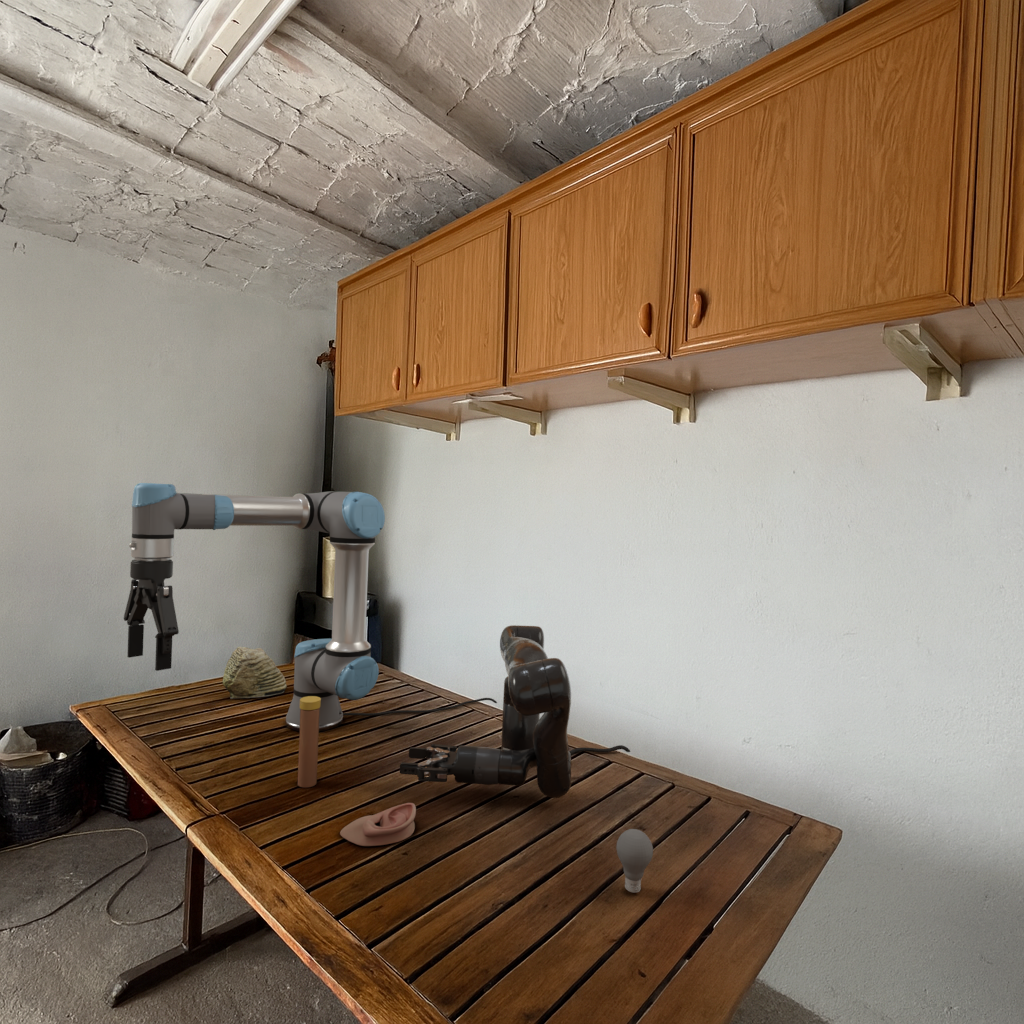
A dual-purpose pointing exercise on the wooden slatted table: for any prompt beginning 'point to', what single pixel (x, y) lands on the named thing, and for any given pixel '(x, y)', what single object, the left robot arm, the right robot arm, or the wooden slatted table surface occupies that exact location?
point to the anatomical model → (382, 826)
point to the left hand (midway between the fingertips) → (148, 662)
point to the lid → (310, 703)
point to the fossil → (252, 674)
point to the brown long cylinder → (308, 748)
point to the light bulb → (634, 857)
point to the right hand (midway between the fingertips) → (404, 760)
